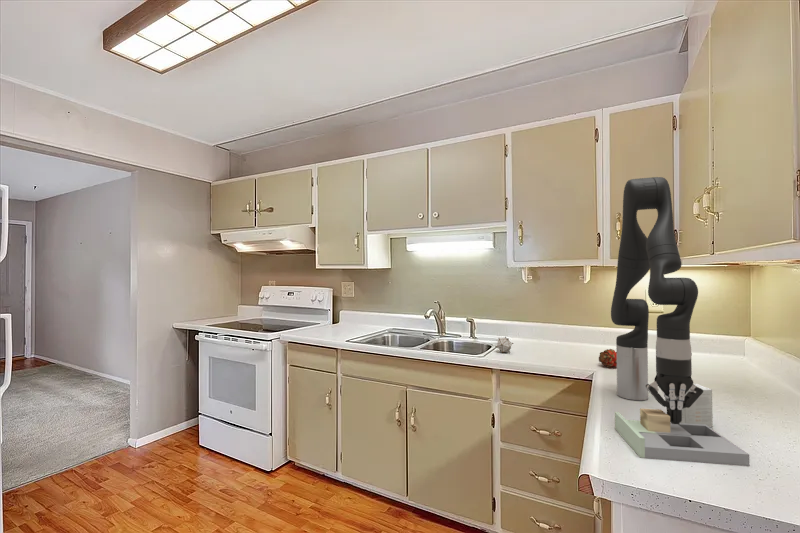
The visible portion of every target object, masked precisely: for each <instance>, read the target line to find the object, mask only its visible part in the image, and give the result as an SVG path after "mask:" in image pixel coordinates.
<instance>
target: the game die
mask: <svg viewBox="0 0 800 533" xmlns="http://www.w3.org/2000/svg"><path fill="white" fill-rule="evenodd" d="M513 344H514V343H513V342H511V341H510V340H509V338H507V337H506V336H505V337H502V338H500V337H498V340H497V343H496V345H495V347H494V348H497V349H499V352H502V354H504V353H507V352H508V353H511V351H510V350H511V349H512V348H511V347H512V345H513Z"/></svg>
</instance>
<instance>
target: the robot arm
mask: <svg viewBox="0 0 800 533" xmlns="http://www.w3.org/2000/svg"><path fill="white" fill-rule="evenodd" d="M622 199H623V200H622V220H621V222H622V224H621V232H620V233H621V234H620V241H619V247H618V248H619V249H618V256H617V268H616V280H615V288H614V291H613V296H612V301H611V305H610V306H611V307H610V318H611V321H612V323H613V324H614V325H617V326H622V327H623V326H624V327H634V328H633V329H632V330H631V331H629V332H627V333H624V334H619V335H618V336H617V337H616V341H615V342H616V343H615V344H616V346H615V347H616V349H615V352H617V367H616V395H617V396H618V397H620V398H623V399H627V400H631V401H646V400H648V399H649V393H650V394H651V396H652V397H653V398H654V399H655V401H656V402H657V403H659V404H660V405H661V406H662V407H664V408H666V414H667V415H669V416H670V423H672V424H680V422H681V421H682V409H683V408H686V407H687V408H689V407H690V406H691V405H692V404H693V403H694V402H695V401H696V400H697V399H698V398H699V396H700V395H701V394H702V393H703V390H702V389H701V388H699V387H697V386H696V385H694V384H695V383H694V380H693V378H692V374H693V373H692V372H693V371H692V370H693V369H692V367H693V365H692V355H693V353H692V344H691V340H690V338H691V331H690V330H691V328H690V326H691V320H692V316H693V311H694V309H695V306H696V303H697V300H698V297H699V288H698V287H699V286H698V285H697V284H696V282H695V281H694V279H691V278H690V277H665V275H669V274H673V273H675V272H678V271H679V270H681V268H682V265H683V264H682V259H681V255H680V253H679V248H678V244H677V240H676V236H675V228H674V227H675V225H674V213H673V203H672V202H673V201H672V193H671V188H670V184H669V182H668V180H667V179H666V178H665V177H664V176H663V177H662V176H660V177H658V176H653V177H642V178H641V177H640V178H631V179H629V180H627V181H626V183H625V185H624V188H623V196H622ZM643 210H644V211H645V210H656V212H657V218H656V220H655V223H654V225H653V227H652V229H651V230H650V232H649V234H648V236H647V235H646V234H645V233H644V232H643V230H642V228H641V226H640V224H639V222H638V218H637V216H638V215H637V213H638V211H643ZM648 272H649V282H648V287H647V288H648V289H647V294H648V298H649V300H650V301H651V302H652V303H653V304H656V305H659V306H676V307H675V309H674V310H673V311H672V312H669V313H663V314H660V315H657V318H656V340H655V372H656V375H655V377H654V381H653V382H651V383H650V384H649V365H648V364H649V360H648V359H649V356H648V354H649V352H648V351H649V350H648V349H649V348H648V341H649V318H650V316H649V315H650V311H649V310H650V309H649V304H648V303H647V301H646V300H645V299H644V298H628V296H629V294H630V292H631V290H632V289H633V288H634V287H635V286H636V285H637V284H639V282H641V281H642V279H643V278H644V277H645V276H646V275H647V274H648ZM659 390H660V391H661V392H662V393H663V396H662V395H661V394H660V393H659ZM688 390H689V392H688V393H687V391H688ZM686 393H687V394H686ZM685 394H686V396H685ZM663 397H664V398H663Z"/></svg>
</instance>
